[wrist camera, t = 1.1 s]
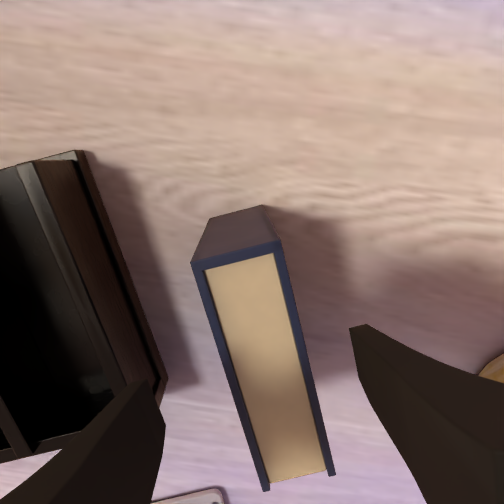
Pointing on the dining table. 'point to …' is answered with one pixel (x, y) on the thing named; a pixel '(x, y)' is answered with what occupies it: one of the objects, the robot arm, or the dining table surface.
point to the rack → (63, 308)
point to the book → (261, 344)
